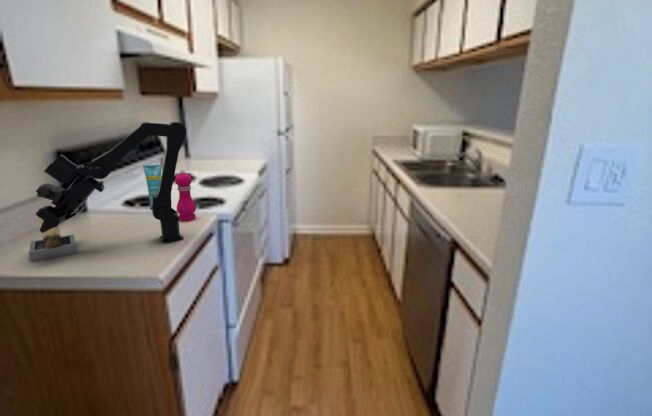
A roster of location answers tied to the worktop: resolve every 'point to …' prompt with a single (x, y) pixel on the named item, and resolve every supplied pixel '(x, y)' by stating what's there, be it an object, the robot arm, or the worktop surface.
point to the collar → (52, 249)
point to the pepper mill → (185, 197)
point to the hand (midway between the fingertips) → (45, 229)
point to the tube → (152, 178)
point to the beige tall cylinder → (51, 236)
